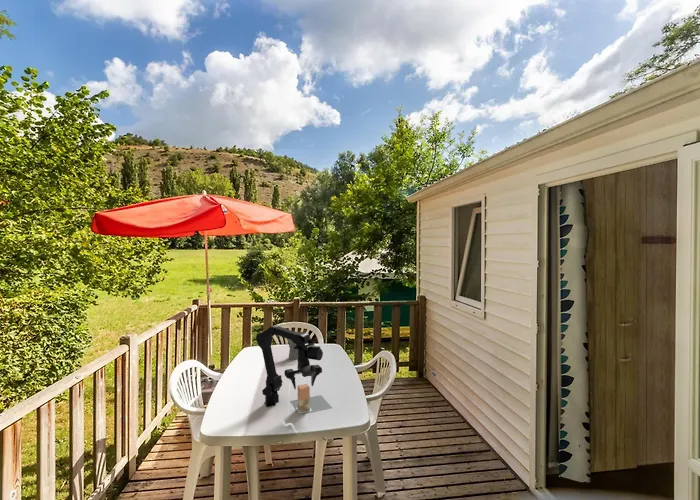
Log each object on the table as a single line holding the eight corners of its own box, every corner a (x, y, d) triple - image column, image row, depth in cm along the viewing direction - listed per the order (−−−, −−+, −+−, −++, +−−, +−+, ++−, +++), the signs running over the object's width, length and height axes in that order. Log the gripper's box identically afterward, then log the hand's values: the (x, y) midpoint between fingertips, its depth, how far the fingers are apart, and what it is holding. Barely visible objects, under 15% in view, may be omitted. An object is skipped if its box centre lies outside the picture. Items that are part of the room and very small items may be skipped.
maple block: (300, 412, 189) (300, 400, 189) (297, 408, 194) (297, 396, 194) (309, 410, 191) (309, 398, 191) (306, 406, 196) (306, 395, 196)
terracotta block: (300, 400, 189) (300, 389, 189) (297, 396, 194) (297, 385, 193) (309, 398, 191) (309, 387, 191) (306, 395, 196) (306, 383, 195)
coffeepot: (283, 359, 278) (283, 335, 278) (289, 355, 287) (289, 332, 287) (301, 361, 273) (301, 336, 272) (307, 357, 282) (307, 333, 281)
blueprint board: (299, 416, 186) (299, 414, 186) (290, 402, 203) (289, 400, 203) (332, 409, 194) (332, 408, 194) (321, 396, 210) (321, 395, 210)
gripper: (289, 365, 181) (290, 396, 181) (325, 359, 188) (326, 390, 189) (283, 358, 191) (284, 388, 191) (318, 353, 198) (318, 382, 199)
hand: (303, 387), depth 192 cm, fingers open, 9 cm apart
